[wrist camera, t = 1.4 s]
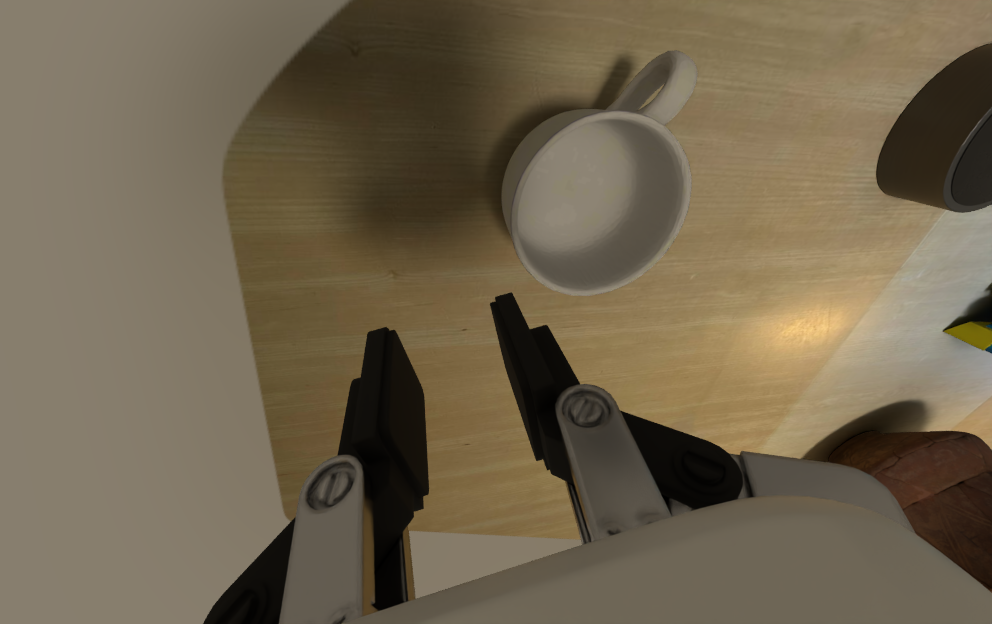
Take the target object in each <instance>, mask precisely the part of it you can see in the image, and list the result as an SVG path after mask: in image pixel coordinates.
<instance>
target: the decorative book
mask: <svg viewBox="0 0 992 624" xmlns="http://www.w3.org/2000/svg"><path fill="white" fill-rule="evenodd" d="M943 332H946V333H948V334H950V335H952V336H954V337H956V338H958V339H960V340H962V341H964V342H966V343H969V344H971V345H973V346H975V347H977V348H979V349H981V350H986V351H988V352H990V353H992V323H991V322H968V323H965V324H962V325H960V326H957V327H954V328H951V329H948V330H945V331H943Z"/></svg>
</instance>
